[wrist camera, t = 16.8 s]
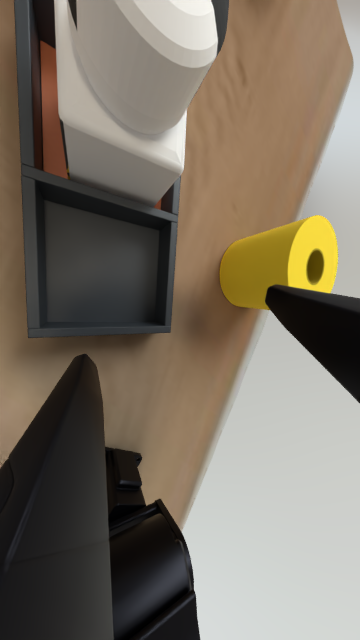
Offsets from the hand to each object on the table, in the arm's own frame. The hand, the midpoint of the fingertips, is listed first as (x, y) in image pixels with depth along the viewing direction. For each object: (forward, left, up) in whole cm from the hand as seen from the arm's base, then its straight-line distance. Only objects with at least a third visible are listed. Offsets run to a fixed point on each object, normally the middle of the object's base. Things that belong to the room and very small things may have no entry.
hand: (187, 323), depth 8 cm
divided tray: (+6, +6, -13) cm, 15 cm away
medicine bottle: (+10, +8, -12) cm, 18 cm away
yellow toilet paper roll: (+14, -12, -13) cm, 22 cm away
